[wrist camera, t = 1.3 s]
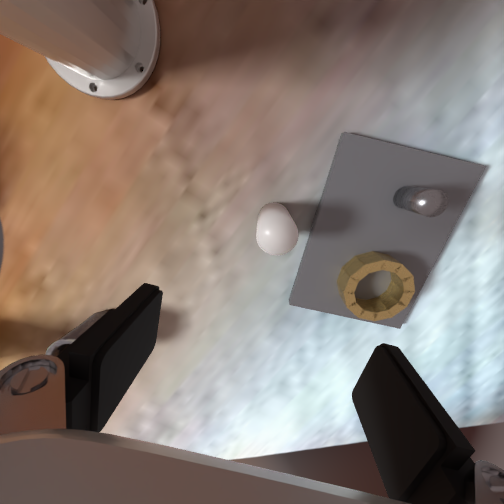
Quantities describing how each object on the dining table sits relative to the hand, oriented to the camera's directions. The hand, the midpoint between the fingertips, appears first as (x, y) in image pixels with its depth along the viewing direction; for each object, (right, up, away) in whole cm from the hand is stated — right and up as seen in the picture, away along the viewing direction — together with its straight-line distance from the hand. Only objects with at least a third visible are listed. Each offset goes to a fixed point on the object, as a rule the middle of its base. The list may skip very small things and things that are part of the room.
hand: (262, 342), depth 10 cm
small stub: (+17, +10, +17) cm, 26 cm away
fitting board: (+15, +5, +20) cm, 26 cm away
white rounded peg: (+2, +8, +20) cm, 22 cm away
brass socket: (+15, 0, +21) cm, 26 cm away
